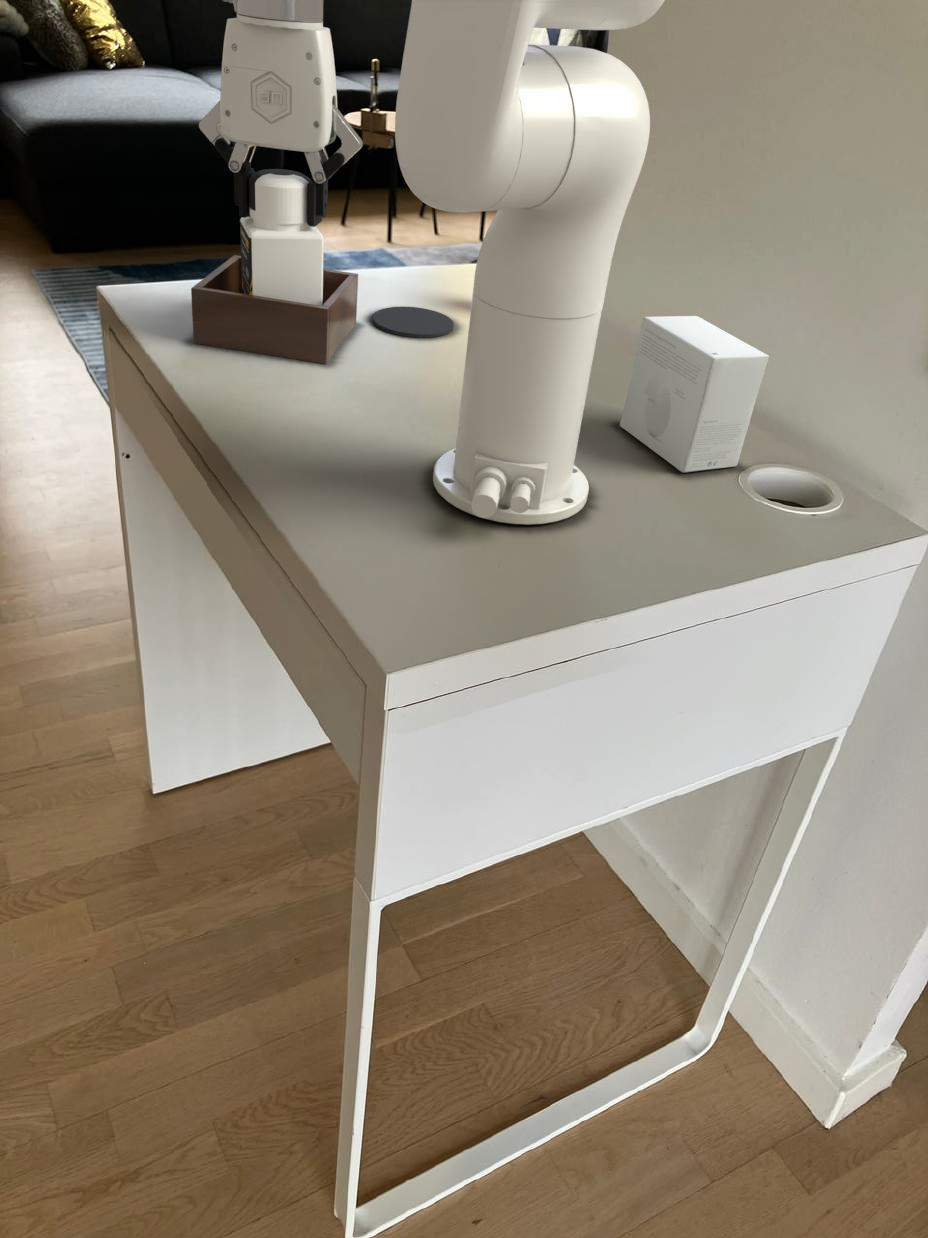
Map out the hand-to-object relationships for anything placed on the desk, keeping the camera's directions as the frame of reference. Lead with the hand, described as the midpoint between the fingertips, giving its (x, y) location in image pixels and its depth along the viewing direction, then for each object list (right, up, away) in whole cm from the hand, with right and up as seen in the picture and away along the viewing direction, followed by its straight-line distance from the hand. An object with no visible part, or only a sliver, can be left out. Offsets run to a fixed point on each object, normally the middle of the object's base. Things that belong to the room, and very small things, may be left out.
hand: (281, 217), depth 100 cm
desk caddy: (-2, -9, +7) cm, 12 cm away
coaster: (+12, -6, +14) cm, 20 cm away
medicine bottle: (-1, -7, +4) cm, 8 cm away
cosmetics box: (+37, -23, -6) cm, 45 cm away
